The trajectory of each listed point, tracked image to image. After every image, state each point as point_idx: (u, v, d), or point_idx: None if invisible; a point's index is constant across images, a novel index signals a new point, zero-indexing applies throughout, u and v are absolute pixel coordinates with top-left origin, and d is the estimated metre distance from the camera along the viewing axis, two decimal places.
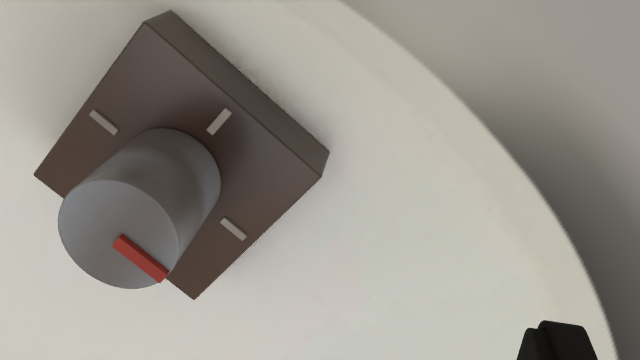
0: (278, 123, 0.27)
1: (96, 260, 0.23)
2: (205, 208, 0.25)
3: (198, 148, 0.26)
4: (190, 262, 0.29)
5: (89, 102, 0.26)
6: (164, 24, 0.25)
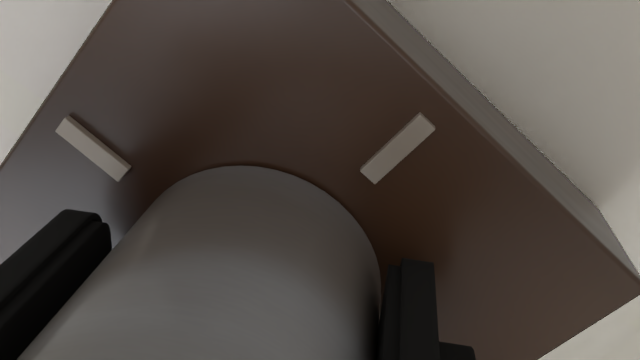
0: None
1: None
2: None
3: None
4: None
5: (454, 116, 0.09)
6: None
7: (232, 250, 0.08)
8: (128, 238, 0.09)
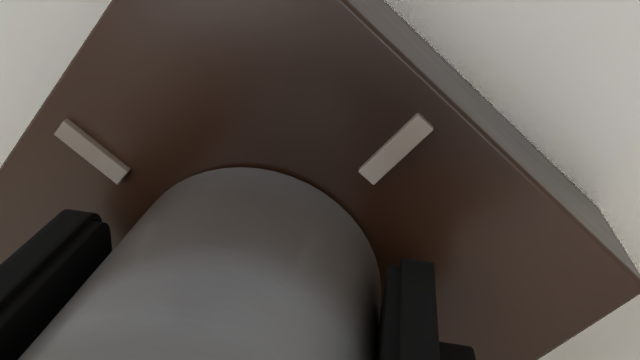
0: None
1: None
2: None
3: None
4: (212, 32, 0.09)
5: None
6: None
7: (231, 251, 0.08)
8: (127, 240, 0.09)
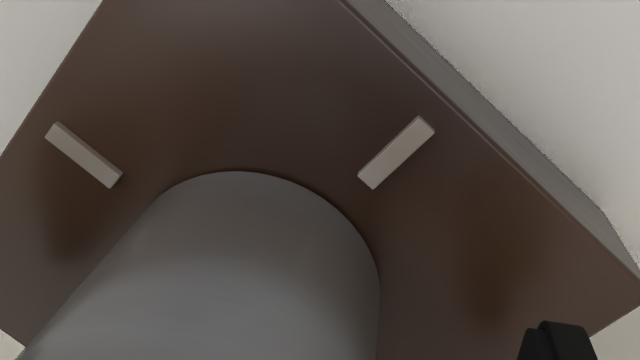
0: None
1: None
2: None
3: None
4: (206, 33, 0.09)
5: None
6: None
7: (227, 260, 0.07)
8: (120, 247, 0.08)
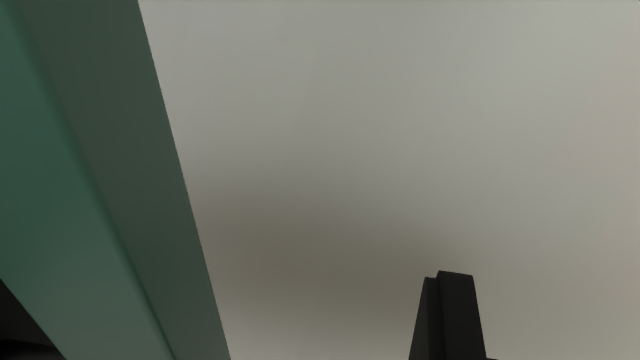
0: None
1: None
2: None
3: None
4: None
5: None
6: None
7: None
8: None
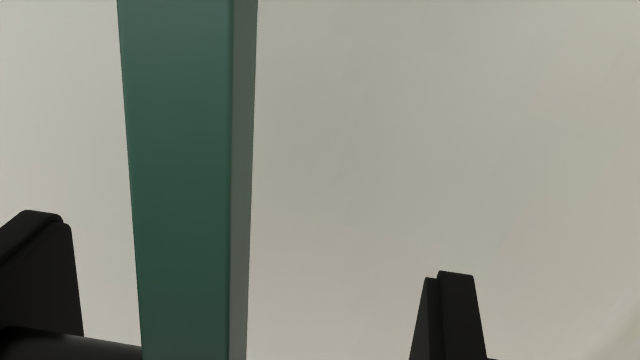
0: None
1: None
2: None
3: None
4: None
5: None
6: None
7: None
8: None
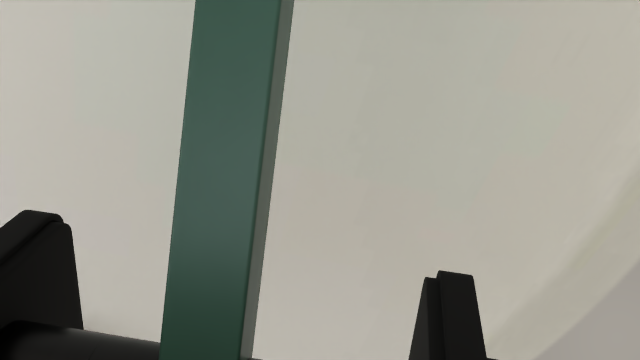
0: None
1: None
2: None
3: None
4: None
5: None
6: None
7: None
8: None
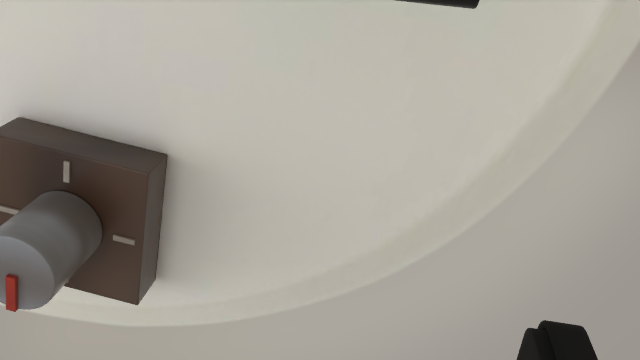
0: None
1: None
2: None
3: (99, 239, 0.36)
4: (13, 166, 0.35)
5: (140, 246, 0.37)
6: None
7: (21, 211, 0.33)
8: None
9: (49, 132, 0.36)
